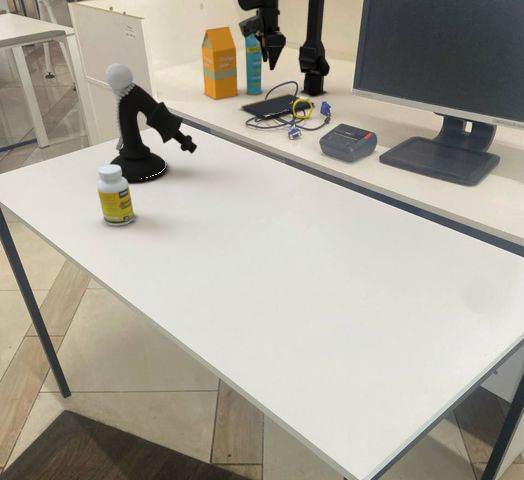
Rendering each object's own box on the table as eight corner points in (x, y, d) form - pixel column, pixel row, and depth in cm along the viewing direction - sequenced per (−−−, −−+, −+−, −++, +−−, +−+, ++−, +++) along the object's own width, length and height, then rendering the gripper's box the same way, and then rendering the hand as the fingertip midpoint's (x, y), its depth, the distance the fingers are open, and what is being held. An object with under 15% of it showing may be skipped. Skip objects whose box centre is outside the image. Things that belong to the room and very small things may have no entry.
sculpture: (117, 157, 143) (98, 54, 126) (204, 160, 142) (195, 56, 125) (100, 182, 132) (76, 72, 115) (194, 185, 130) (183, 74, 113)
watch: (292, 119, 164) (293, 99, 160) (292, 116, 167) (292, 96, 163) (312, 119, 164) (313, 99, 160) (311, 116, 167) (312, 96, 163)
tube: (251, 96, 181) (250, 32, 168) (241, 93, 184) (239, 30, 171) (266, 92, 185) (266, 29, 172) (257, 89, 188) (256, 26, 175)
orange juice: (237, 95, 183) (235, 28, 169) (215, 99, 179) (211, 32, 166) (226, 89, 188) (223, 24, 174) (204, 93, 184) (199, 27, 171)
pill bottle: (120, 229, 114) (109, 178, 106) (98, 222, 117) (86, 171, 109) (140, 217, 118) (131, 166, 110) (119, 210, 121) (109, 160, 113)
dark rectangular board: (288, 97, 181) (288, 93, 180) (313, 106, 173) (313, 103, 172) (241, 109, 172) (241, 105, 171) (266, 120, 164) (266, 116, 163)
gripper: (234, 0, 155) (236, 59, 166) (246, 13, 142) (248, 76, 152) (271, -1, 157) (271, 57, 167) (287, 11, 143) (285, 74, 154)
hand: (268, 66), depth 160 cm, fingers open, 9 cm apart
